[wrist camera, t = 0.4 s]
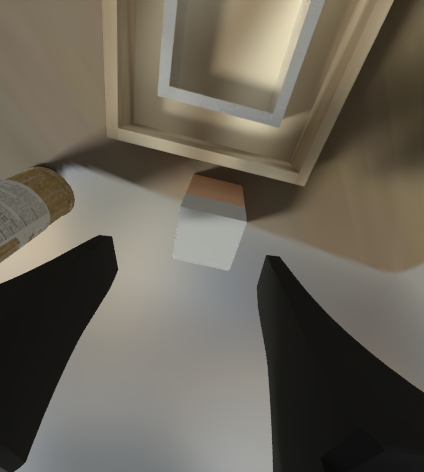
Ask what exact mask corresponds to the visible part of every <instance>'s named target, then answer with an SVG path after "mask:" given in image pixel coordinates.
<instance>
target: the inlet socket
mask: <svg viewBox="0 0 424 472" xmlns="http://www.w3.org/2000/svg"><path fill="white" fill-rule="evenodd" d="M324 2H325V0H302V2H301V6H300V9H299V12H298V15H297V18H296V21H295V24H294V28H293V31H292V34H291V37H290V40H289V43H288V46H287V49H286V53H285V56H284V59H283V62H282V65H281V68H280V71H279V75H278V78H277V81H276V84H275V87H274V90H273V93H272V96H271V100H270V103H269V106H268V109H267V111H266V110H263V109H259V108H255V107H251V106H248V105H244V104H240V103H237V102H233V101H229V100H226V99H222V98H218V97H214V96H211V95H207V94H203V93H200V92H196V91H192V90H189V89H185V88H181V87H178V82H179V73H180V65H181V56H182V47H183V39H184V30H185V22H186V13H187V4H188V0H164V14H163V27H162V41H161V54H160V67H159V81H158V94H157V96H160V97H164V98H168V99H172V100H175V101H179V102H183V103H187V104H190V105H194V106H198V107H202V108H205V109H209V110H213V111H217V112H221V113H224V114H228V115H232V116H236V117H239V118H243V119H247V120H251V121H254V122H258V123H262V124H266V125H269V126H273V127H277V128H279V127H280V124H281V121H282V119H283V116H284V113H285V110H286V107H287V105H288V102H289V99H290V96H291V94H292V91H293V88H294V85H295V82H296V80H297V77H298V74H299V71H300V68H301V66H302V63H303V60H304V57H305V55H306V52H307V49H308V46H309V43H310V41H311V38H312V35H313V32H314V30H315V27H316V24H317V21H318V18H319V16H320V13H321V10H322V7H323V5H324Z"/></svg>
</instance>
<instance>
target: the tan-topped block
mask: <svg viewBox="0 0 424 472" xmlns="http://www.w3.org/2000/svg"><path fill="white" fill-rule="evenodd" d="M246 223H247V218H246V211H245V203H244V196H243V188H242V185H238V184H234V183H230V182H226V181H221V180H217V179H213V178H209V177H205V176H201V175H197V174H194V175H193V178H192V180H191V183H190V185H189V187H188V190H187V192H186V194H185V197H184V199H183V202H182V204H181V207H180V212H179V218H178V225H177V231H176V237H175V243H174V249H173V256H172V259H177V260H181V261H186V262H191V263H196V264H200V265H204V266H209V267H214V268H219V269H223V270H228V271H229V270H230V267H231V264H232V262H233V259H234V256H235V253H236V251H237V248H238V245H239V242H240V240H241V237H242V234H243V232H244V229H245V226H246Z"/></svg>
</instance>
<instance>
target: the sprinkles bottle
mask: <svg viewBox="0 0 424 472" xmlns="http://www.w3.org/2000/svg"><path fill="white" fill-rule="evenodd" d="M74 200H75V199H74V194H73V191H72V189H71V187H70V186H69V184H68V183H67V182H66V181H65V179H64V178H63V177H61V176H60V175H59V174H58V173H56V172H55V171H53V170H51V169H48V168H44V167H40V166H39V167H36V166H35V167H30V168H28V169H26V170H25V171H23V172H22V173H20V174H17V175H15V176H13V177H11V178H8V179H5V180H0V263H1V262H2V261H3V260H5V259H6V258H8V257H9V256H10V255H12V254H13V253H14V252H16V251H17V250H18V249H20V248H21V247H23V246H24V245H25V244H26V243H28V242H29V241H31V240H32V239H33V238H35V237H36V236H37V235H39V234H40V233H41V232H43V231H44V230H45V229H46V228H47V227H48V226H49V225H50V224H51V223H53V222H54V221H55V220H57V219H58V218H60V217H61V216H63V215H66V214H67V213H69V212H70V211H71V210H72V208H73V207H74Z"/></svg>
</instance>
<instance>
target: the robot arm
mask: <svg viewBox="0 0 424 472" xmlns="http://www.w3.org/2000/svg"><path fill="white" fill-rule="evenodd" d="M117 271H118V266H117V261H116V255H115V250H114V244H113V239H112V237H111V236H102V235H99V236H96V237H94V238H92V239H90V240H88V241H86V242H84V243H83V244H81V245H79V246H77V247H75V248H73V249H71V250H70V251H68V252H66V253H64V254H62V255H60V256H58V257H56V258H55V259H53V260H51V261H49V262H47V263H45V264H43V265H41V266H39V267H36V268H35V269H32V270H30V271H28V272H26V273H24V274H22V275H20V276H17V277H15V278H13V279H11V280H8V281H6V282H4V283H1V284H0V472H14V471H16V470H17V469H18V468H20V467H21V466H22V465H23V464H24V463H25V462H26V460H27V457H28V455H29V452H30V449H31V446H32V444H33V441H34V439H35V436H36V434H37V431H38V429H39V426H40V424H41V421H42V418H43V416H44V414H45V412H46V409H47V407H48V405H49V402H50V400H51V398H52V395H53V393H54V391H55V388H56V386H57V384H58V382H59V379H60V377H61V375H62V373H63V371H64V369H65V367H66V364H67V362H68V360H69V358H70V356H71V354H72V352H73V350H74V348H75V346H76V344H77V342H78V340H79V338H80V336H81V335H82V333H83V331H84V330H85V328H86V326H87V325H88V323H89V321H90V320H91V318H92V317H93V315H94V314H95V312H96V310H97V309H98V307H99V305H100V304H101V302H102V300H103V299H104V297H105V296H106V294H107V292H108V291H109V289H110V287H111V285H112V283H113V280H114V278H115V276H116V274H117ZM257 298H258V310H259V316H260V321H261V327H262V332H263V338H264V344H265V350H266V357H267V365H268V377H269V389H270V407H271V426H272V445H273V446H272V447H273V448H272V449H273V472H424V392H422V391H421V390H419V389H418V388H416V387H415V386H414V385H412V384H411V383H409V382H408V381H407V380H405V379H404V378H403V377H401V376H400V375H398V374H397V373H396V372H394V371H393V370H392V369H391V368H389V367H388V366H387V365H385V364H384V363H383V362H381V361H380V360H379V359H378V358H376V357H375V356H374V355H373V354H371V353H370V352H369V351H368V350H367V349H366V348H364V347H363V346H362V345H361V344H360V343H359V342H357V341H356V340H355V339H354V338H353V337H352V336H350V335H349V334H348V333H347V332H346V331H345V330H344V329H343V328H342V327H341V326H340V325H339V324H337V323H336V322H335V321H334V320H333V319H332V318H331V317H330V316H329V315H328V314H327V313H326V312H325V311H324V310H323V309H322V307H321V306H320V305H319V304H318V303H317V302H316V301H315V300H314V299H313V298H312V297H311V295H310V294H309V293H308V292H307V291H306V290H305V288H304V287H303V286H302V285H301V284H300V282H299V281H298V280H297V279H296V277H295V276H294V275H293V274H292V272H291V271H290V270H289V268H288V267H287V266H286V264H285V263H284V262H283V261H282V260H281V258H280V257H277V256H270V255H266V258H265V261H264V264H263V268H262V271H261V275H260V278H259V281H258V285H257Z"/></svg>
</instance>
